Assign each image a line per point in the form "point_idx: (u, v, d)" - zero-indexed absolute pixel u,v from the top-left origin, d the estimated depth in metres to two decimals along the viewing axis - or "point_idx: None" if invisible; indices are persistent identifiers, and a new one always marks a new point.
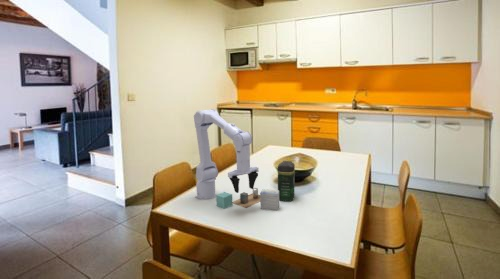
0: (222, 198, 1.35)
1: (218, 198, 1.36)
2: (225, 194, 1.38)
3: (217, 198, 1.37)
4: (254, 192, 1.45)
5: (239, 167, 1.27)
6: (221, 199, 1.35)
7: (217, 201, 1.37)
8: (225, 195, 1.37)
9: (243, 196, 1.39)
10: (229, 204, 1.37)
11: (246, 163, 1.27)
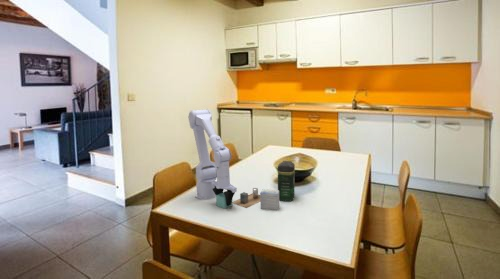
0: (222, 198, 1.35)
1: (218, 198, 1.36)
2: None
3: (217, 198, 1.37)
4: (254, 192, 1.45)
5: None
6: (221, 199, 1.35)
7: (217, 201, 1.37)
8: None
9: (243, 196, 1.39)
10: None
11: (219, 179, 1.34)
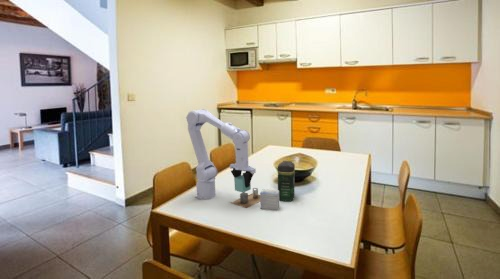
0: (240, 180, 1.36)
1: (237, 181, 1.37)
2: (243, 177, 1.39)
3: (235, 181, 1.38)
4: (254, 192, 1.45)
5: None
6: (239, 181, 1.36)
7: (235, 184, 1.38)
8: (243, 178, 1.37)
9: (243, 196, 1.39)
10: (247, 187, 1.38)
11: (238, 160, 1.35)
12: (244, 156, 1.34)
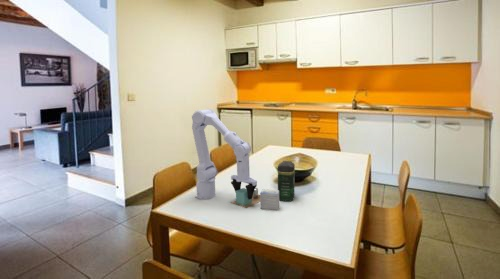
0: (242, 194, 1.37)
1: (238, 194, 1.39)
2: (244, 190, 1.40)
3: (237, 194, 1.39)
4: (254, 192, 1.45)
5: None
6: (240, 195, 1.38)
7: (237, 197, 1.40)
8: (245, 191, 1.39)
9: None
10: (248, 200, 1.39)
11: (239, 172, 1.36)
12: (245, 168, 1.35)
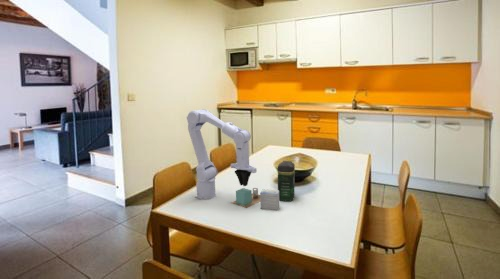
0: (242, 194, 1.37)
1: (238, 194, 1.39)
2: (244, 190, 1.40)
3: (237, 194, 1.39)
4: (254, 192, 1.45)
5: None
6: (240, 195, 1.38)
7: (237, 197, 1.40)
8: (245, 191, 1.39)
9: None
10: (248, 200, 1.39)
11: (239, 160, 1.35)
12: (245, 156, 1.34)
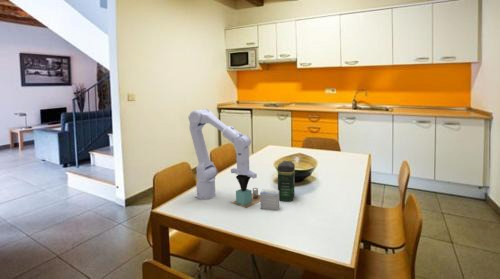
0: (242, 194, 1.37)
1: (238, 194, 1.39)
2: None
3: (237, 194, 1.39)
4: (254, 192, 1.45)
5: None
6: (240, 195, 1.38)
7: (237, 197, 1.40)
8: (245, 191, 1.39)
9: None
10: (248, 200, 1.39)
11: (239, 165, 1.36)
12: (245, 161, 1.35)
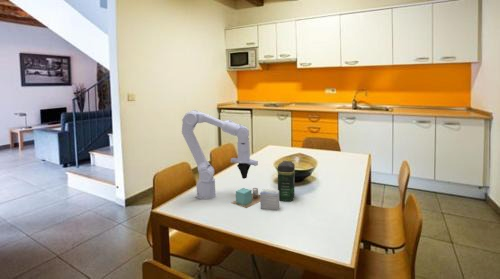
0: (242, 194, 1.37)
1: (238, 194, 1.39)
2: (244, 190, 1.40)
3: (237, 194, 1.39)
4: (254, 192, 1.45)
5: None
6: (240, 195, 1.38)
7: (237, 197, 1.40)
8: (245, 191, 1.39)
9: None
10: (248, 200, 1.39)
11: (240, 154, 1.44)
12: (248, 149, 1.44)
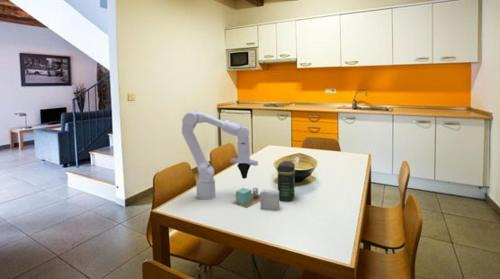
0: (242, 194, 1.37)
1: (238, 194, 1.39)
2: (244, 190, 1.40)
3: (237, 194, 1.39)
4: (254, 192, 1.45)
5: None
6: (240, 195, 1.38)
7: (237, 197, 1.40)
8: (245, 191, 1.39)
9: None
10: (248, 200, 1.39)
11: (240, 154, 1.44)
12: (248, 149, 1.44)
